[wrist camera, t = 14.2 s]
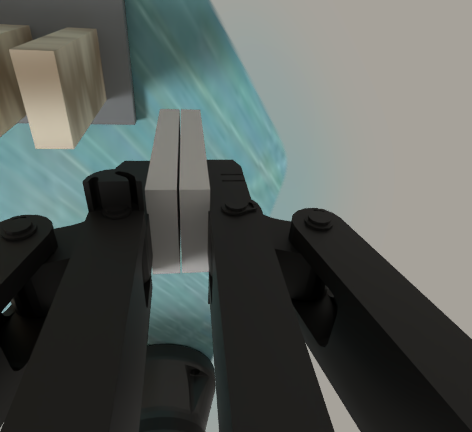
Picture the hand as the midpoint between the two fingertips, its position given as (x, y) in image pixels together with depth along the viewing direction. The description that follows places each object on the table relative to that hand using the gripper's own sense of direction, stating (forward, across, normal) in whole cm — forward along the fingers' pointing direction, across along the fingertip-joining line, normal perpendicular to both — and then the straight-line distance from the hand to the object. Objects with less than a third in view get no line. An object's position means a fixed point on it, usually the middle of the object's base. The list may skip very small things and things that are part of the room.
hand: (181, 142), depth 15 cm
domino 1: (+15, +7, 0) cm, 17 cm away
